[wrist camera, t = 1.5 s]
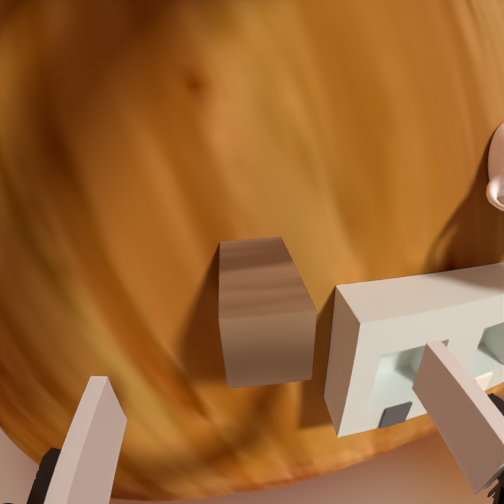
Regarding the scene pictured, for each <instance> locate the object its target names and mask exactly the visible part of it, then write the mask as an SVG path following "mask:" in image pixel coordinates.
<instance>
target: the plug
mask: <svg viewBox="0 0 504 504" xmlns="http://www.w3.org/2000/svg"><path fill="white" fill-rule="evenodd" d="M316 316H317V310H316V308H315V306H314V304H313V301H312V299H311V297H310V295H309V293H308V291H307V289H306V287H305V285H304V283H303V281H302V279H301V277H300V274H299V272H298V270H297V268H296V266H295V264H294V262H293V260H292V258H291V256H290V254H289V252H288V250H287V248H286V246H285V244H284V242H283V240H282V238H281V237H275V238H261V239H248V240H235V241H222V242H220V260H219V327H220V335H221V343H222V350H223V357H224V365H225V372H226V379H227V386H228V388H239V387H251V386H261V385H271V384H280V383H288V382H296V381H303V380H310V379H312V369H313V357H314V345H315V331H316Z"/></svg>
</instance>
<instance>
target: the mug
mask: <svg viewBox="0 0 504 504" xmlns="http://www.w3.org/2000/svg"><path fill="white" fill-rule="evenodd" d="M488 175H489V181H490V182H489V183H488V185H487V188H486V196H487V199H488V201H489V202H490V203H491V204H492V205H493V206H495V207H496V208H498V209H500V210H501V211H503V212H504V122H503V123H502V124H501V125H500V126H499V127H498V128H497V130H496V132H495V134H494V136H493V138H492V141H491V145H490V149H489V155H488Z"/></svg>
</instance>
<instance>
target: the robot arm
mask: <svg viewBox="0 0 504 504" xmlns="http://www.w3.org/2000/svg"><path fill="white" fill-rule="evenodd" d="M412 389H413V391H414V392H415V394H416V396H417V397H418V399H419V400H420V402H421V404H422V405H423V407H424V408H425V410H426V411H427V413H428V415H429V416H430V418H431V420H432V421H433V423H434V424H435V426H436V428H437V429H438V431H439V433H440V434H441V436H442V437H443V439H444V441H445V443H446V444H447V446H448V448H449V449H450V451H451V453H452V454H453V456H454V458H455V460H456V461H457V463H458V465H459V466H460V468H461V470H462V472H463V473H464V475H465V477H466V479H467V480H468V482H469V484H470V486H471V487H472V490H473V491H474V493H475V494H477V493H479V492H480V491H482V490H484V489H486V488H487V487H489V486H490V485H491V484H492V483H493V482H494V481H495V480H496V479H498V481H499V483H498V484H497V485H496V486H495V487H494V488H493V489H492V490H491V491H490V492H489V494H488V497H490V496H491V495H492V494H493V493H494V492H495V494H494V496H493V497H492V498H494V501H493V504H504V401H503V400H502V399H501V398H499V397H497V396H496V395H494V394H493V393H491V394H489V395H486V393H485V392H484V391H483V390H482V388H481V387H480V386H479V385H478V384H477V382H476V381H475V380H474V379H473V378H472V376H471V375H470V374H469V373H468V372H467V370H466V369H465V368H464V367H463V366H462V364H461V363H460V362H459V361H458V360H457V359H456V357H455V356H454V355H453V354H452V353H451V352H450V351H449V349H448V348H447V347H446V346H445V345H444V344H443V343H442V341H441V340H436V341H432V342H428V343H426V346H425V349H424V352H423V356H422V359H421V362H420V365H419V368H418V371H417V374H416V377H415V380H414V383H413V386H412ZM126 423H127V419H126V417H125V415H124V413H123V411H122V408H121V406H120V404H119V402H118V400H117V397H116V395H115V393H114V391H113V388H112V386H111V384H110V381H109V379H108V377H104V376H91V377H90V379H89V382H88V384H87V386H86V389H85V391H84V394H83V396H82V398H81V401H80V403H79V406H78V408H77V411H76V413H75V416H74V418H73V421H72V423H71V426H70V429H69V431H68V434H67V436H66V439H65V442H64V445H63V447H62V450H61V449H55V448H51V449H50V450H49V451H48V452H47V453H46V454H45V455H44V456H43V458H42V461H41V464H40V466H39V471H38V472H37V474H36V479H35V480H34V483H33V486H32V489H31V492H30V495H29V498H28V501H27V504H109V501H110V496H111V490H112V485H113V481H114V476H115V471H116V466H117V462H118V457H119V453H120V448H121V444H122V440H123V436H124V431H125V427H126ZM4 504H12V503H4Z"/></svg>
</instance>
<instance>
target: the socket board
mask: <svg viewBox="0 0 504 504" xmlns="http://www.w3.org/2000/svg"><path fill="white" fill-rule="evenodd" d="M436 340H441V341H442V343H443V344H444V345H445V346H446V347H447V348H448V349H449V351H450V352H451V353H452V354H453V355H454V356H455V357H456V359H457V360H458V361H459V362H460V363H461V364H462V366H463V367H464V368H465V369H466V370H467V372H468V373H469V374H470V375H471V376H472V378H473V379H474V380H475V381H476V382H477V384H478V385H479V386H480V387H481V388H482V390H483V391H485V390H487V389H489V388H491V387H493V386H495V385H497V384H500V383H502V382H504V262H502V263H496V264H490V265H484V266H478V267H471V268H465V269H458V270H452V271H445V272H438V273H431V274H424V275H416V276H409V277H401V278H393V279H386V280H378V281H369V282H361V283H352V284H343V285H336V289H335V302H334V313H333V324H332V333H331V343H330V352H329V360H328V368H327V376H326V383H325V391H324V399H325V402H326V405H327V408H328V411H329V414H330V417H331V420H332V423H333V426H334V428H335V431H336V434H337V437H341V436H346V435H350V434H355V433H359V432H363V431H367V430H371V429H375V428H384V427H388V426H391V425H395V424H398V423H401V422H405V420H407V419H410V418H413V417H417V416H420V415H423V414H426V413H427V411H426V410H425V408H424V407H423V405H422V404H421V402H420V400H419V399H418V397H417V396H416V394H415V392H414V391H413V389H412V386H413V383H414V380H415V377H416V374H417V371H418V368H419V365H420V362H421V359H422V356H423V352H424V349H425V346H426V343H428V342H432V341H436Z"/></svg>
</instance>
